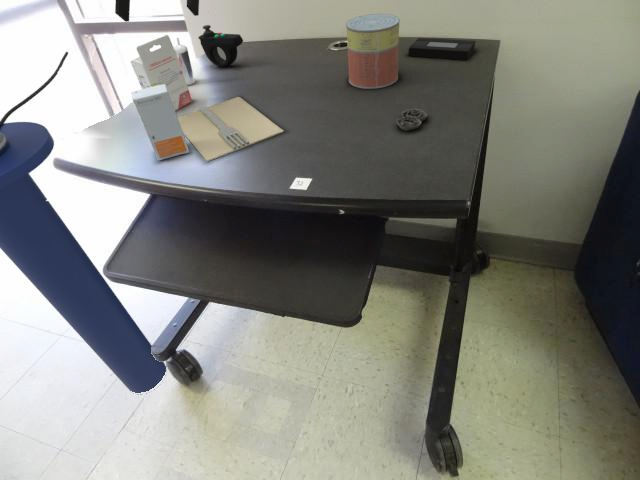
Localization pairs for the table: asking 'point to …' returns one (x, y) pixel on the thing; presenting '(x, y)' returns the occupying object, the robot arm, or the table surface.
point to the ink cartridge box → (162, 70)
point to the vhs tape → (442, 48)
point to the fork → (225, 130)
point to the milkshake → (184, 62)
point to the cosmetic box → (160, 121)
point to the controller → (220, 46)
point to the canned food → (373, 50)
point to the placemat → (231, 115)
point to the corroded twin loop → (411, 119)
